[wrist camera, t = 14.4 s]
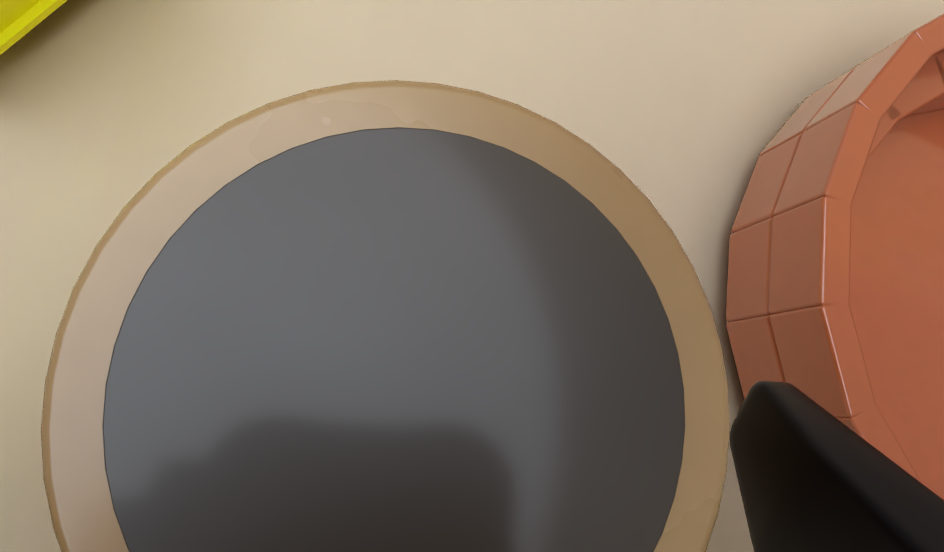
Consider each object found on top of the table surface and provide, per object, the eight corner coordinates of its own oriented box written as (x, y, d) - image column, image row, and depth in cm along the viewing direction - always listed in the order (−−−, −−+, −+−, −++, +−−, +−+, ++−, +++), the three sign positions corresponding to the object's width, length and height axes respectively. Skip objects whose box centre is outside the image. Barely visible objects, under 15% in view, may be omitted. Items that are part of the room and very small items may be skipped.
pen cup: (519, 431, 17) (864, 499, 6) (320, 571, 15) (293, 975, 5) (395, 238, 17) (507, -42, 6) (188, 363, 16) (-128, 296, 5)
